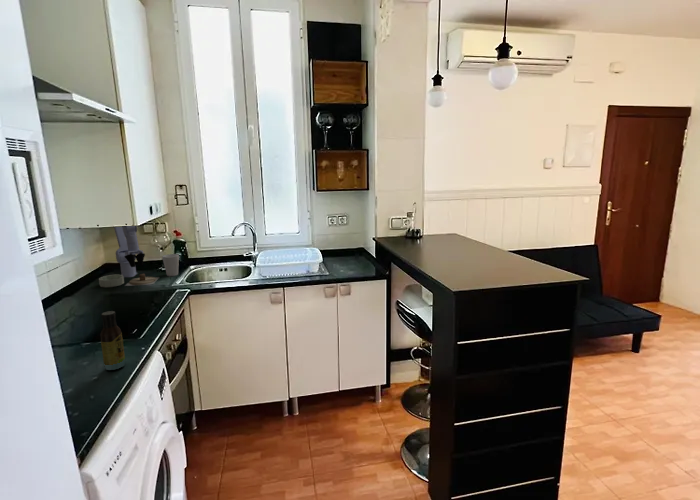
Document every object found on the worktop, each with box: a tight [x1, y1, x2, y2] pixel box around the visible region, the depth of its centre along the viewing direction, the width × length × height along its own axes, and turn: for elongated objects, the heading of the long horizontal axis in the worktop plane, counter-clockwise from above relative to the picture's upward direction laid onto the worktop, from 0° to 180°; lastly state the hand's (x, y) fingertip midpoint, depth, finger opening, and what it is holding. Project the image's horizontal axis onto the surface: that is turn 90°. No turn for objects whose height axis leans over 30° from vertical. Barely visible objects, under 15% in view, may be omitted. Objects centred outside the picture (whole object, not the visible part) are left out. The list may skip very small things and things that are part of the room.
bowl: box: [98, 274, 125, 288], centre depth 225 cm, size 12×12×4 cm
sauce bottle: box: [99, 310, 126, 365], centre depth 130 cm, size 6×6×20 cm
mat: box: [124, 276, 160, 287], centre depth 230 cm, size 15×15×1 cm
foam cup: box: [161, 253, 180, 277], centre depth 243 cm, size 10×9×13 cm
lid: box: [128, 273, 157, 286], centre depth 230 cm, size 14×14×4 cm
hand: (137, 266), depth 226 cm, fingers open, 7 cm apart
